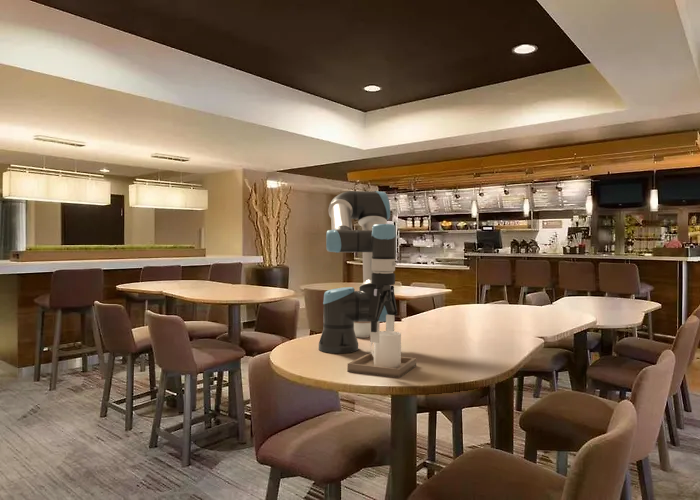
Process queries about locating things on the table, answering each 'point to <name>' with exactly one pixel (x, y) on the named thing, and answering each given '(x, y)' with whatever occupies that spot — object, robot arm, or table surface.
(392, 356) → the mug
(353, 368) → the tray
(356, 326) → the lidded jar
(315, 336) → the table surface
